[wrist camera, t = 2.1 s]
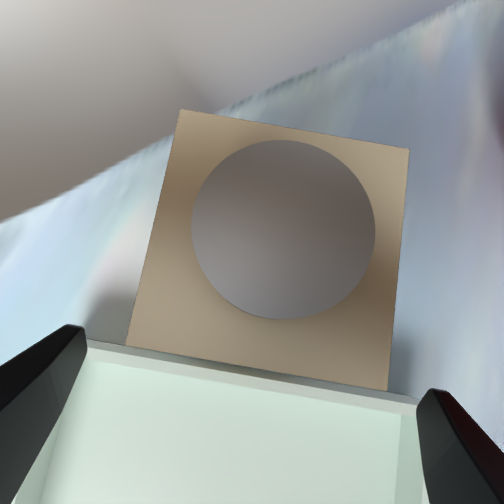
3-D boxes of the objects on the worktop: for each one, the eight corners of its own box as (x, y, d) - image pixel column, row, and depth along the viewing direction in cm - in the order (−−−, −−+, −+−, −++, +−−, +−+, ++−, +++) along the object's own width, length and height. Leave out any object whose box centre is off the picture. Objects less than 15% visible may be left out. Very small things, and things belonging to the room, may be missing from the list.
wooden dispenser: (304, 352, 19) (417, 406, 7) (188, 331, 19) (101, 350, 7) (320, 239, 21) (439, 118, 8) (211, 220, 21) (169, 71, 8)
